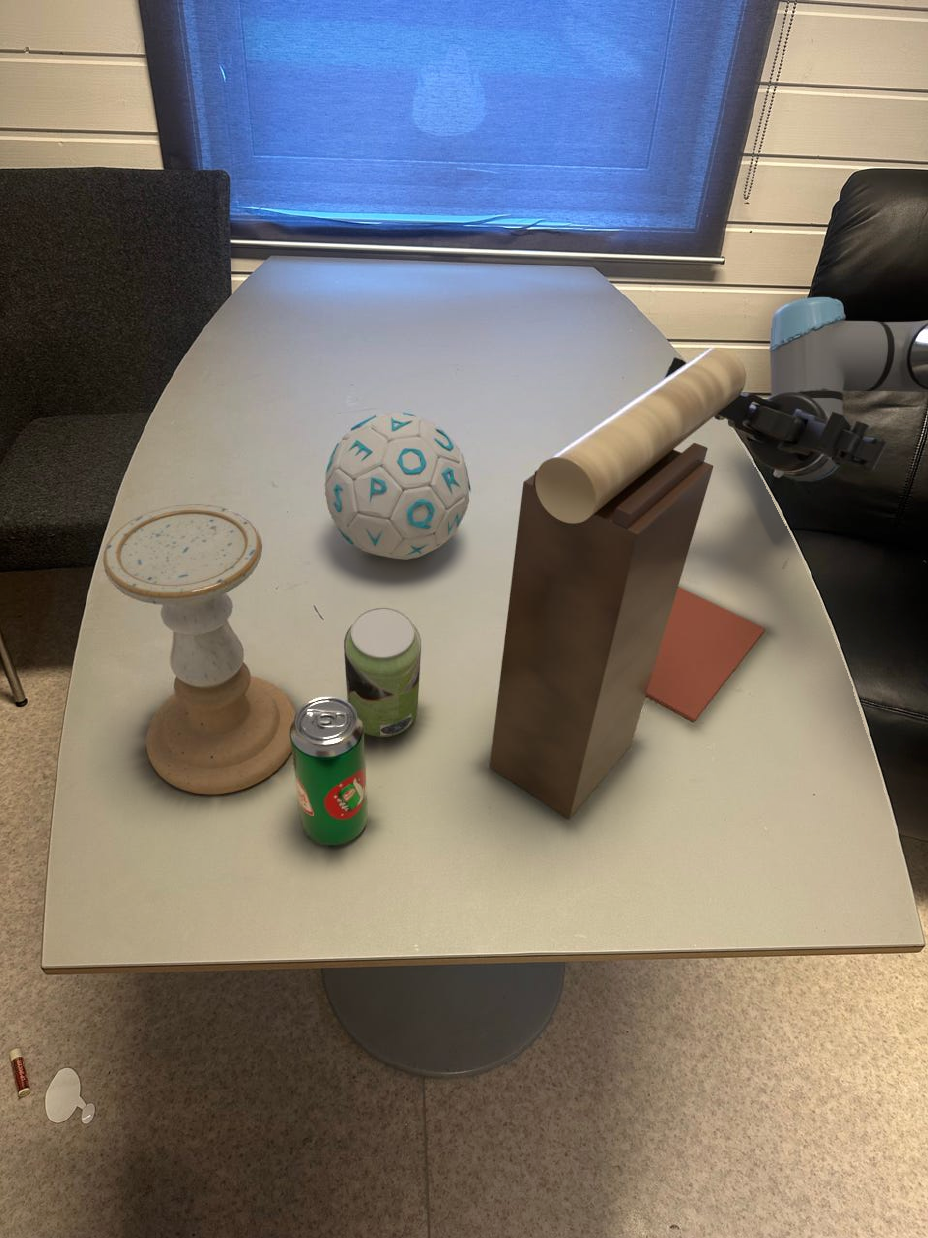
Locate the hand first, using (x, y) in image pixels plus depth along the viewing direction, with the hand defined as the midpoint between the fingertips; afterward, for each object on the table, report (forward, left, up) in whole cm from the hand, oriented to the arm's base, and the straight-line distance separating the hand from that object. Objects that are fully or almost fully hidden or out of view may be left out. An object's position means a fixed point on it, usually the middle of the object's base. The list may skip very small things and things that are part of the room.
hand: (746, 400), depth 66 cm
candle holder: (+23, +38, -25) cm, 51 cm away
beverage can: (+14, +28, -25) cm, 40 cm away
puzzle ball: (+30, +8, -25) cm, 40 cm away
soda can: (+10, +38, -25) cm, 47 cm away
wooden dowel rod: (0, +18, +3) cm, 18 cm away
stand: (0, +21, -25) cm, 33 cm away
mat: (-1, +2, -25) cm, 25 cm away
